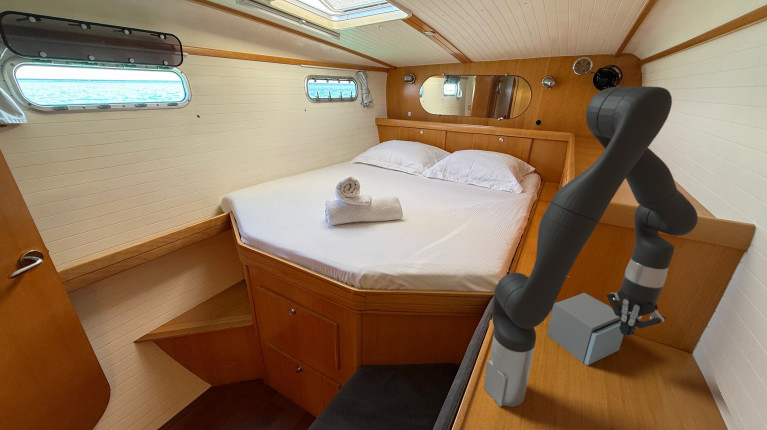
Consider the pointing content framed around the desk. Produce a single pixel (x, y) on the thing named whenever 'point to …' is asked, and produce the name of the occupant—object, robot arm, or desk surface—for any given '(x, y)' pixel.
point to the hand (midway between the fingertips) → (625, 333)
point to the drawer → (604, 343)
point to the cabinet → (579, 322)
